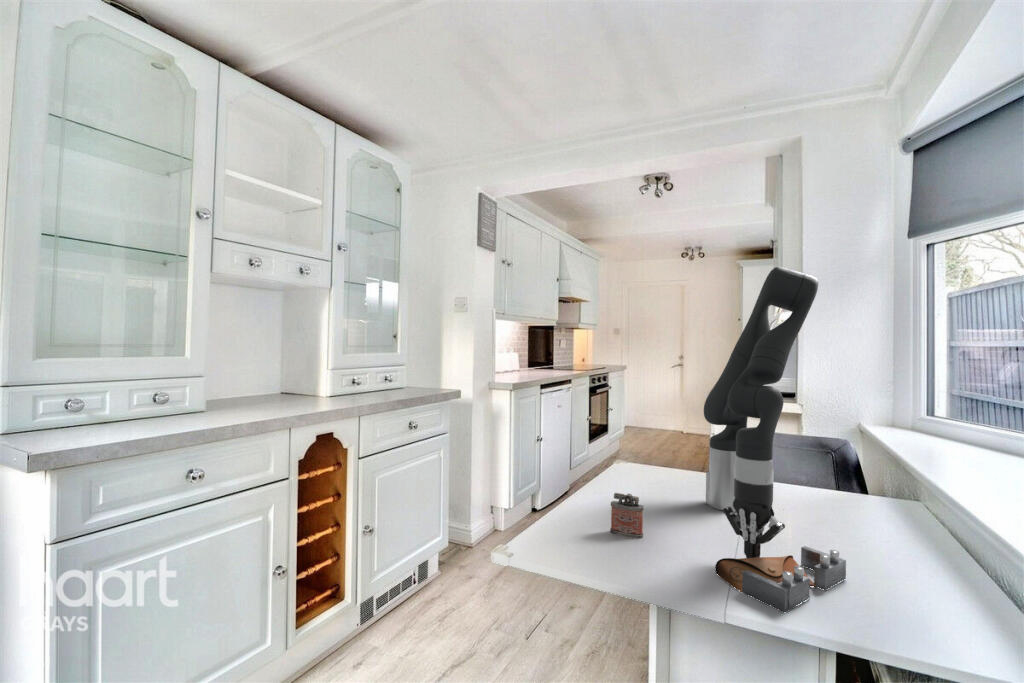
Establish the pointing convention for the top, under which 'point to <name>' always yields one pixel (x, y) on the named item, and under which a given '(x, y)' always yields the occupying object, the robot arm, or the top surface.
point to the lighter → (627, 516)
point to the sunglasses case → (755, 568)
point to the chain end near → (778, 589)
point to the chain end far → (824, 566)
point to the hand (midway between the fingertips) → (751, 558)
